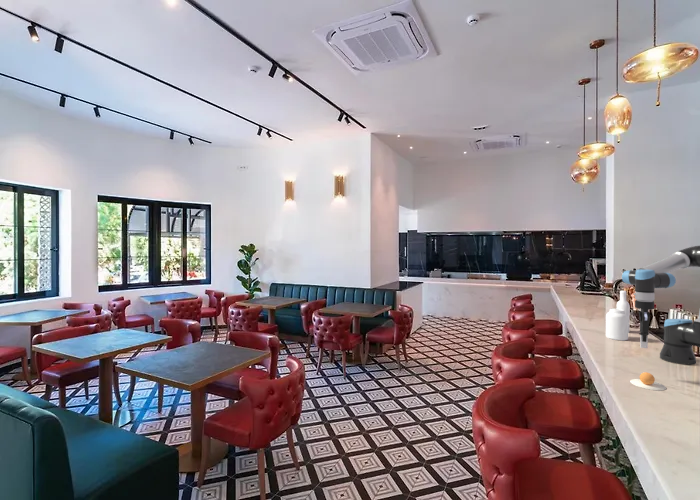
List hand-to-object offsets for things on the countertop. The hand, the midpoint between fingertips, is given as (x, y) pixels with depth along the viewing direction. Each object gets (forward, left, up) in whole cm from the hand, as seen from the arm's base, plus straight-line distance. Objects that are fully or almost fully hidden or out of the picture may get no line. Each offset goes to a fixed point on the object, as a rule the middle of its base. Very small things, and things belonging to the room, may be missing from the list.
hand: (643, 347), depth 180 cm
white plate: (0, +14, -14) cm, 20 cm away
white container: (+6, -76, -14) cm, 78 cm away
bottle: (+1, -100, -14) cm, 101 cm away
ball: (0, +14, -11) cm, 18 cm away
